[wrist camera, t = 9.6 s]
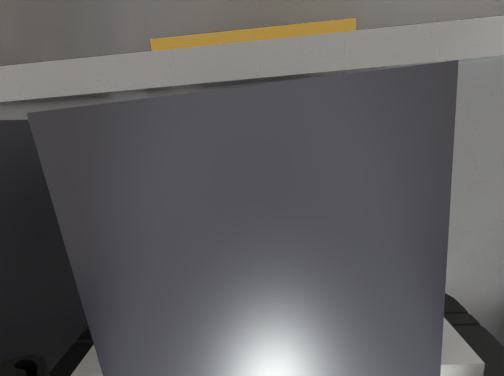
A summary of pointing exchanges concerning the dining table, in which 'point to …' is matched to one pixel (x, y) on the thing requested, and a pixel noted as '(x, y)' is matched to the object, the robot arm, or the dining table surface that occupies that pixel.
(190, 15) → the dining table surface
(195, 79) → the rack
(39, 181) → the dark grey rectangular block
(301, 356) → the panel
